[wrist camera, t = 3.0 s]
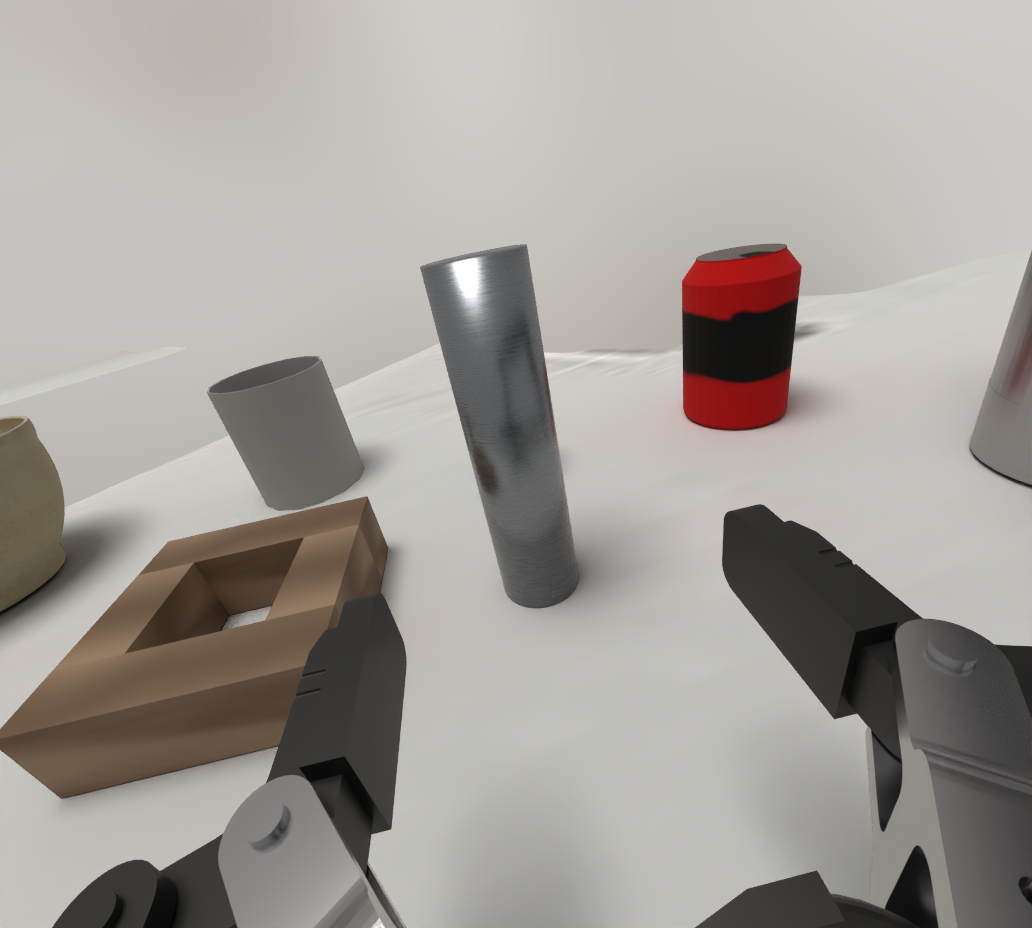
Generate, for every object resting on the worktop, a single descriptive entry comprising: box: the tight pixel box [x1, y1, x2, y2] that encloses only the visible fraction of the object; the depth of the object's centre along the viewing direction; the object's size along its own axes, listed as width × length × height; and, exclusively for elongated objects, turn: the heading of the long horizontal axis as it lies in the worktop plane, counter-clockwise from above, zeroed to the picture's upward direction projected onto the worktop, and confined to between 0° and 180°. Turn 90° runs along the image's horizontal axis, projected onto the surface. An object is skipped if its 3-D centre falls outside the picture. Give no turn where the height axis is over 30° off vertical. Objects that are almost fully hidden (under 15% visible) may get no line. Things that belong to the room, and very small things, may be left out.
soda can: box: [682, 244, 801, 430], centre depth 35 cm, size 8×8×12 cm
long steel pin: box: [420, 244, 579, 608], centre depth 21 cm, size 4×4×16 cm
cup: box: [207, 356, 364, 511], centre depth 38 cm, size 8×8×10 cm
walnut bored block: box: [0, 497, 388, 798], centre depth 23 cm, size 12×12×4 cm
